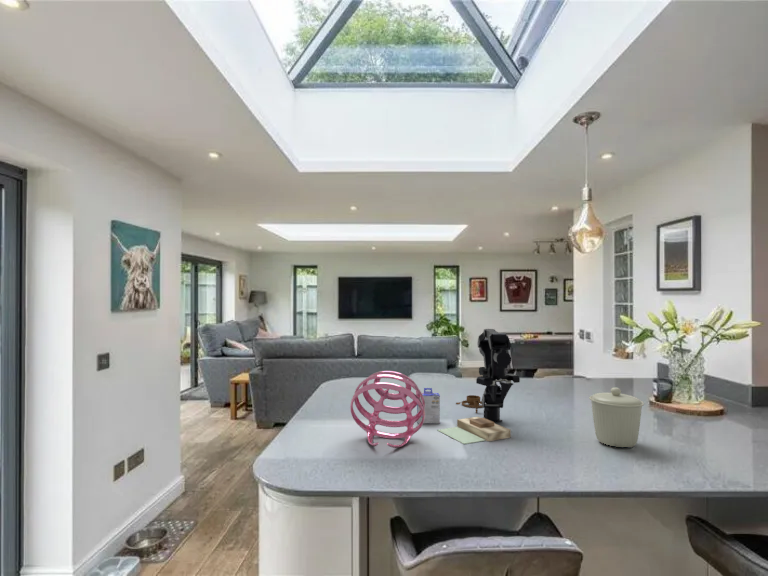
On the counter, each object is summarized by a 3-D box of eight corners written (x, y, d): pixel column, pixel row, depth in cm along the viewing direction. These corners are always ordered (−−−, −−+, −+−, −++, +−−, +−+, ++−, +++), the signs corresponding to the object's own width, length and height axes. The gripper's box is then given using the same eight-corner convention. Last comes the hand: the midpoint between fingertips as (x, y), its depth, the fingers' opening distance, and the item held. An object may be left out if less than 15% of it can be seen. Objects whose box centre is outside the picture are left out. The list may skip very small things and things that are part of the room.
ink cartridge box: (438, 420, 187) (438, 387, 187) (440, 424, 181) (440, 390, 182) (416, 420, 187) (416, 387, 187) (417, 423, 181) (417, 390, 182)
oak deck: (478, 423, 182) (478, 416, 182) (510, 437, 164) (510, 429, 164) (457, 426, 178) (457, 419, 178) (488, 441, 160) (488, 433, 160)
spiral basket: (405, 405, 134) (413, 349, 157) (329, 418, 144) (347, 363, 166) (433, 460, 147) (437, 401, 170) (361, 468, 156) (374, 411, 179)
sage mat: (457, 427, 176) (457, 426, 176) (485, 440, 160) (485, 439, 160) (437, 430, 172) (437, 429, 172) (464, 444, 156) (464, 443, 156)
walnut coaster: (483, 421, 175) (483, 417, 176) (494, 425, 169) (494, 422, 169) (469, 423, 172) (469, 419, 172) (480, 428, 166) (480, 424, 166)
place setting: (494, 406, 214) (494, 395, 214) (479, 415, 198) (479, 402, 198) (462, 401, 224) (462, 390, 224) (445, 409, 208) (445, 397, 208)
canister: (624, 455, 146) (624, 394, 147) (579, 440, 162) (578, 385, 163) (655, 447, 154) (654, 390, 155) (609, 433, 170) (608, 381, 171)
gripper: (502, 358, 186) (502, 394, 186) (468, 361, 178) (468, 398, 178) (520, 362, 176) (520, 399, 176) (485, 365, 168) (485, 404, 168)
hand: (498, 400), depth 175 cm, fingers open, 5 cm apart
